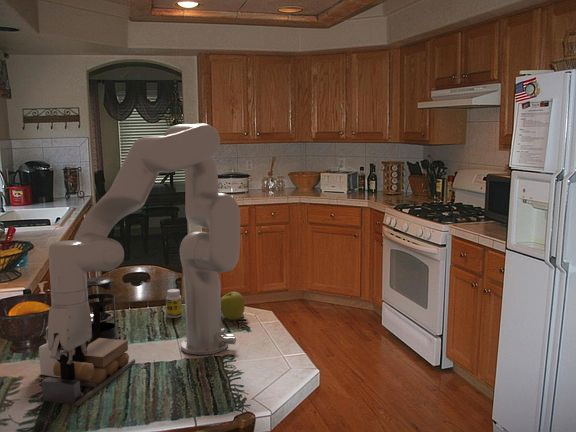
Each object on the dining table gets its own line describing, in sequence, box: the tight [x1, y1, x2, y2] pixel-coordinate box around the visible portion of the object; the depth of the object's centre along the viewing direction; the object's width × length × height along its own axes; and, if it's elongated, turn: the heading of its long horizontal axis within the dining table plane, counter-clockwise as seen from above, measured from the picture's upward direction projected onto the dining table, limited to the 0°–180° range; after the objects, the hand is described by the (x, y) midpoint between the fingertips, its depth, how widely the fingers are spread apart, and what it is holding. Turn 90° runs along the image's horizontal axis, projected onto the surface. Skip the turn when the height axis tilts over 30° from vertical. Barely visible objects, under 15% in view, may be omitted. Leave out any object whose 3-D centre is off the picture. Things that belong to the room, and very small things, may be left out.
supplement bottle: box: [165, 288, 183, 319], centre depth 178 cm, size 5×5×8 cm
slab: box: [73, 338, 129, 367], centre depth 136 cm, size 8×11×2 cm
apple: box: [221, 289, 246, 321], centre depth 176 cm, size 8×8×10 cm
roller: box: [53, 361, 94, 379], centre depth 125 cm, size 8×4×4 cm, turn 76°
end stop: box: [41, 376, 81, 406], centre depth 121 cm, size 8×2×4 cm, turn 76°
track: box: [37, 352, 136, 407], centre depth 131 cm, size 10×24×4 cm, turn 166°
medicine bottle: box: [38, 325, 74, 379], centre depth 136 cm, size 7×7×12 cm
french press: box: [87, 271, 118, 344], centre depth 158 cm, size 12×9×23 cm
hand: (73, 375), depth 126 cm, fingers closed on roller, 3 cm apart
